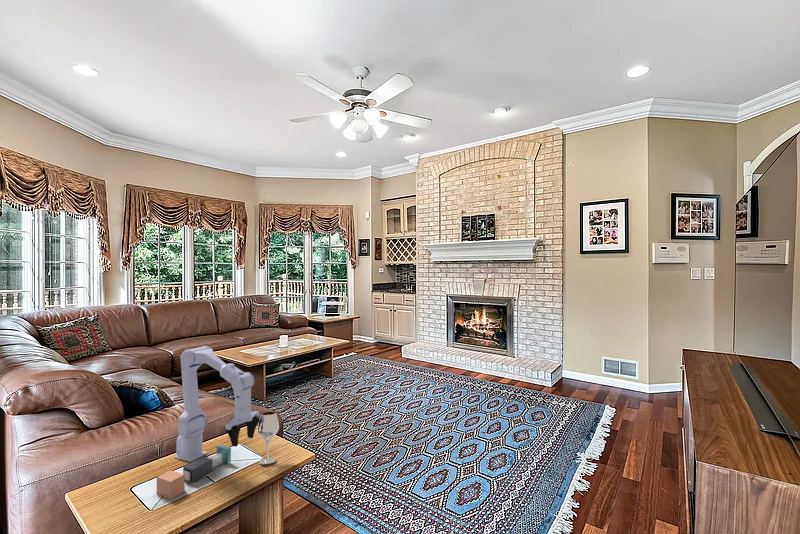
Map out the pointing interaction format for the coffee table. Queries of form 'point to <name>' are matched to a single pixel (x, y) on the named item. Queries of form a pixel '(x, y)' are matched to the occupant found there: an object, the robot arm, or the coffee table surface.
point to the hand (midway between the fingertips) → (242, 441)
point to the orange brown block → (170, 483)
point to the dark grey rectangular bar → (199, 468)
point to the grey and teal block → (215, 459)
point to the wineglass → (268, 431)
